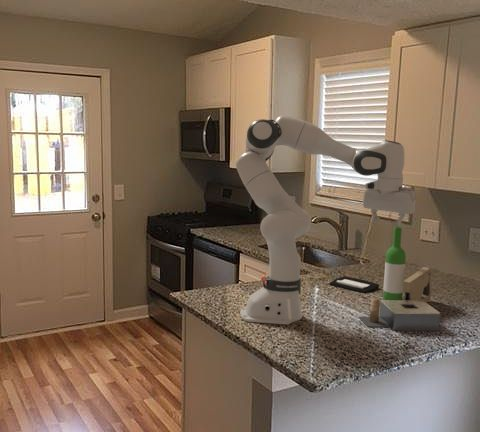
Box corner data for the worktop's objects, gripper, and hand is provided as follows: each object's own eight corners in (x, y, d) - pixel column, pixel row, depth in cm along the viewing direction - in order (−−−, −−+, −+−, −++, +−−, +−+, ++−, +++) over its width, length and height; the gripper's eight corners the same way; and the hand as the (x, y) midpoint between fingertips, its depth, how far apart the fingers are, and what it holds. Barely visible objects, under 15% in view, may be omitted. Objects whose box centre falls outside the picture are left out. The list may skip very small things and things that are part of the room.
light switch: (326, 281, 233) (343, 273, 243) (326, 287, 234) (343, 279, 244) (365, 290, 220) (382, 282, 230) (365, 297, 220) (381, 288, 230)
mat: (367, 327, 180) (367, 326, 180) (358, 317, 190) (359, 316, 190) (390, 327, 181) (390, 326, 181) (380, 317, 191) (380, 316, 191)
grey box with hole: (393, 330, 178) (394, 312, 177) (379, 316, 192) (380, 300, 191) (438, 330, 179) (440, 312, 178) (421, 317, 193) (423, 300, 192)
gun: (424, 299, 216) (426, 264, 213) (432, 300, 214) (434, 265, 211) (400, 318, 198) (402, 280, 194) (408, 320, 196) (410, 282, 192)
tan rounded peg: (373, 323, 183) (375, 301, 182) (367, 320, 186) (369, 298, 185) (380, 322, 185) (381, 300, 184) (374, 319, 187) (375, 297, 186)
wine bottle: (380, 300, 212) (386, 227, 208) (384, 295, 219) (389, 225, 215) (400, 303, 209) (406, 229, 205) (403, 298, 216) (409, 226, 212)
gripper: (420, 188, 184) (417, 226, 186) (371, 183, 199) (369, 218, 201) (410, 188, 180) (407, 228, 182) (361, 183, 195) (359, 220, 197)
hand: (386, 223), depth 192 cm, fingers open, 8 cm apart
